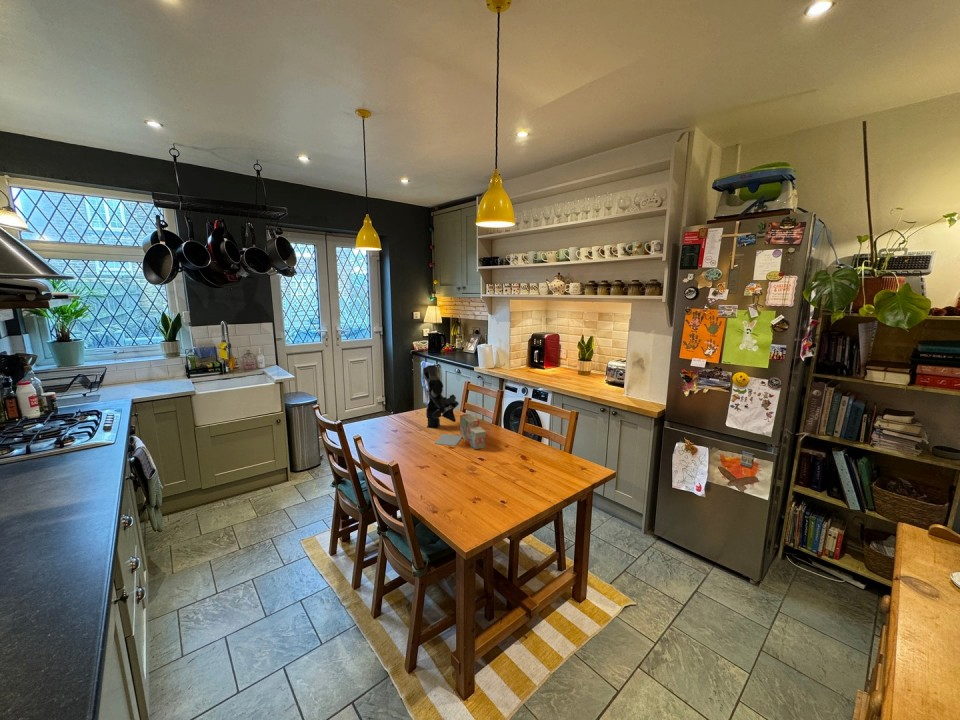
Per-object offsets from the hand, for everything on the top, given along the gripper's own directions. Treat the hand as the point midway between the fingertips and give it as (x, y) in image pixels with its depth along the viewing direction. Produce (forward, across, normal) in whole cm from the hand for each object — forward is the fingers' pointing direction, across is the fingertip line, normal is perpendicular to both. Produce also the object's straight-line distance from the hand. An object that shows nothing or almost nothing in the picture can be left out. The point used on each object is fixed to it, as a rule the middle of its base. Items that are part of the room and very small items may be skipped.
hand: (455, 421), depth 215 cm
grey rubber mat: (+6, -3, +9) cm, 11 cm away
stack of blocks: (+14, +2, 0) cm, 15 cm away
